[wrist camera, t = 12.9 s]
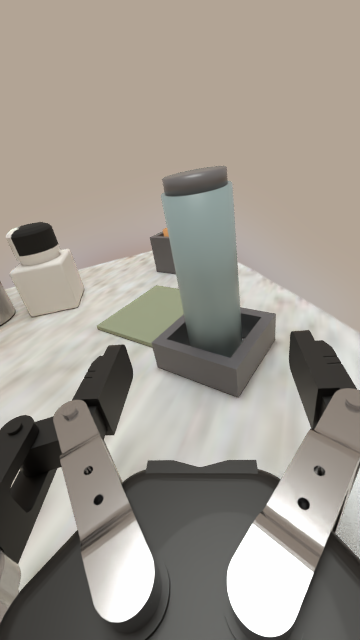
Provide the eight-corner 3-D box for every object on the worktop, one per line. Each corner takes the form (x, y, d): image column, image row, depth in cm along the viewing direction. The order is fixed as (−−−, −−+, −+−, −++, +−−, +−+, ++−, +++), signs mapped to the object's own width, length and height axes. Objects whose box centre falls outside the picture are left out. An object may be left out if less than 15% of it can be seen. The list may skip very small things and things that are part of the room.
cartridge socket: (157, 367, 27) (151, 342, 26) (202, 322, 33) (199, 300, 31) (238, 397, 22) (236, 369, 21) (275, 339, 28) (275, 313, 26)
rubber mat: (97, 329, 35) (96, 325, 35) (157, 288, 43) (156, 285, 43) (173, 354, 28) (172, 350, 28) (227, 300, 36) (226, 296, 36)
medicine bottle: (85, 288, 48) (58, 216, 41) (78, 307, 42) (46, 226, 35) (43, 297, 47) (9, 225, 41) (30, 318, 41) (-11, 237, 35)
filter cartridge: (182, 362, 27) (143, 183, 19) (206, 333, 30) (182, 170, 22) (230, 376, 25) (209, 176, 16) (250, 343, 28) (242, 162, 19)
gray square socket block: (157, 271, 49) (149, 237, 46) (173, 261, 52) (167, 228, 49) (180, 274, 46) (173, 238, 43) (196, 263, 49) (191, 229, 46)
